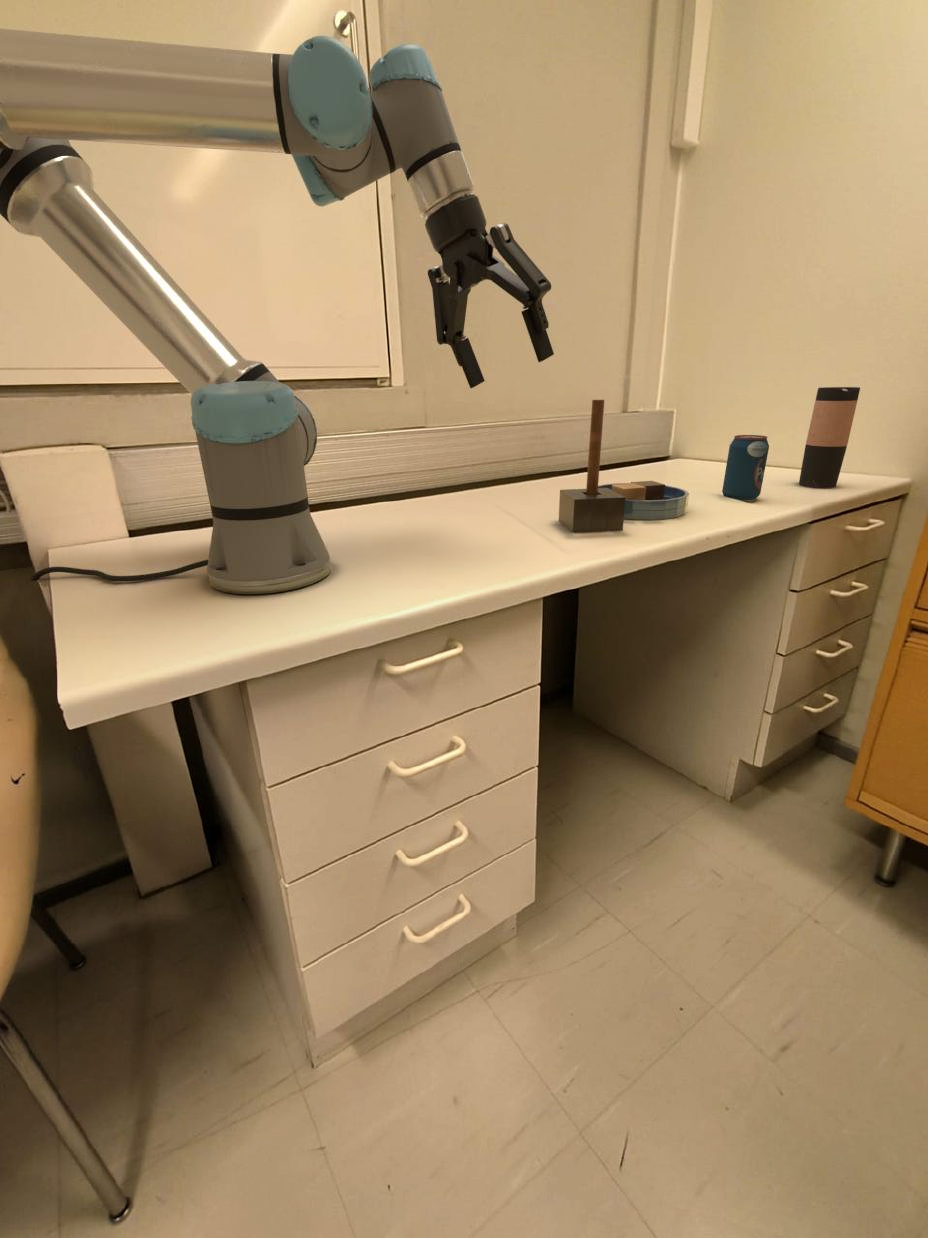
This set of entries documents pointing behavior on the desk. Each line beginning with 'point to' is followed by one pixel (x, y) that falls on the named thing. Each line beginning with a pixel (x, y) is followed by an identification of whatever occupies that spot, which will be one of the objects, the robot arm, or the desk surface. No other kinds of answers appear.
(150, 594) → the desk surface
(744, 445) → the soda can
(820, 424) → the travel mug
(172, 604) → the desk surface
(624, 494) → the pine block
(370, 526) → the desk surface
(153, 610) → the desk surface
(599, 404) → the stirring stick
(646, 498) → the walnut block
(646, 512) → the bowl
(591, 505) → the stand
